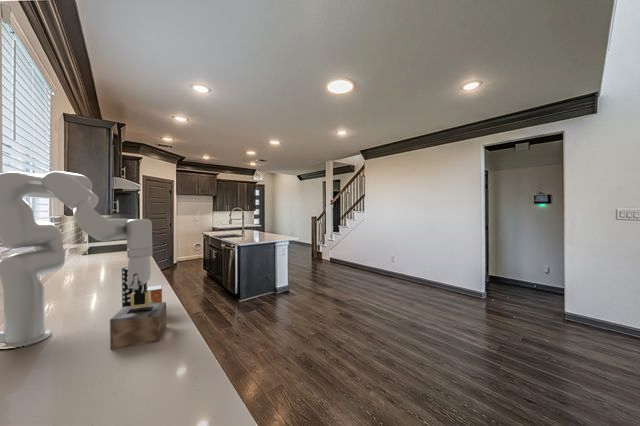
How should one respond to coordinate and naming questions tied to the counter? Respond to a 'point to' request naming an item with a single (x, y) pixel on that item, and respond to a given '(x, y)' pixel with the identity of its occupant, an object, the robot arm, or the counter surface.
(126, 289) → the white-spotted black cylinder
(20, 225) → the robot arm
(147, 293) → the yellow rectangular block
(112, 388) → the counter surface
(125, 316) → the coin box
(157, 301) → the small box
